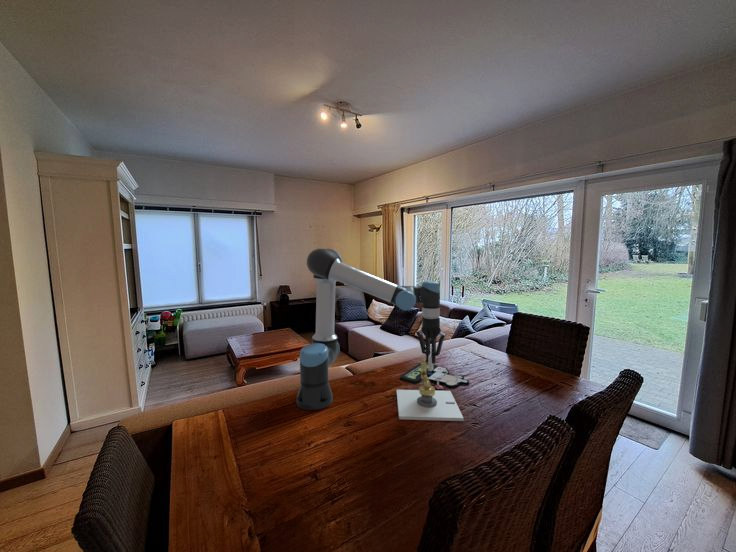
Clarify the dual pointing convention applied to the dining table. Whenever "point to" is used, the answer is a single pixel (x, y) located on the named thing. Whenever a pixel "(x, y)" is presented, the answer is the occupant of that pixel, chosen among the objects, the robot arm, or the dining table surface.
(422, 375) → the brass lever knob
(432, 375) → the sign
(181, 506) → the dining table surface
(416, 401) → the post board
